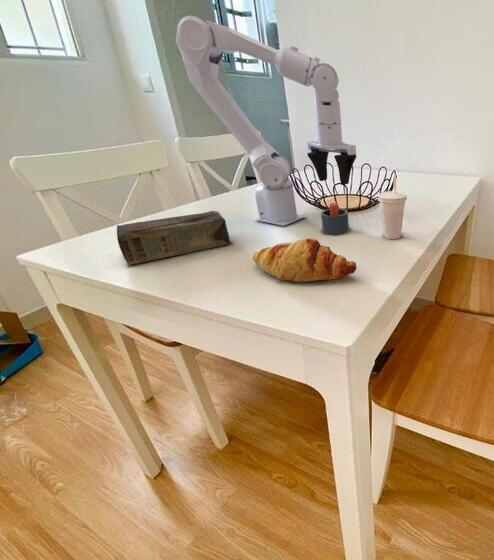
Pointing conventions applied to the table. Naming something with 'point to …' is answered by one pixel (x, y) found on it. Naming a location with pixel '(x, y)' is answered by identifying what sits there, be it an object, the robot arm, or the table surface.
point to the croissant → (303, 261)
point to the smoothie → (392, 211)
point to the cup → (335, 222)
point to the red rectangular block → (334, 209)
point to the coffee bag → (171, 236)
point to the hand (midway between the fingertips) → (333, 182)
